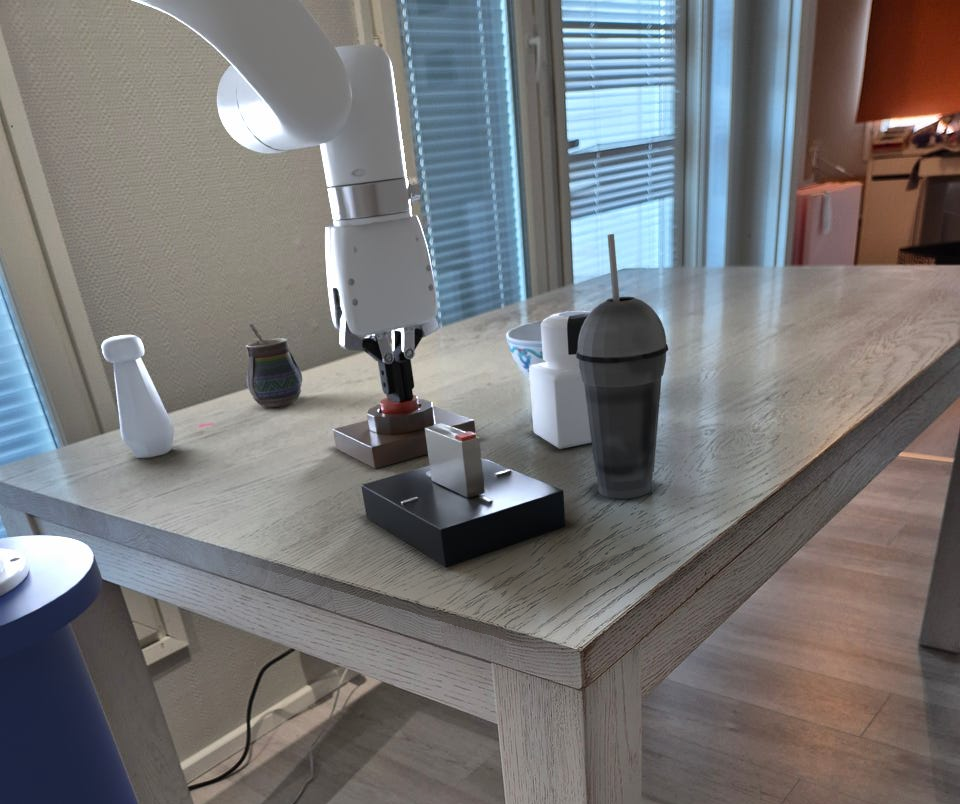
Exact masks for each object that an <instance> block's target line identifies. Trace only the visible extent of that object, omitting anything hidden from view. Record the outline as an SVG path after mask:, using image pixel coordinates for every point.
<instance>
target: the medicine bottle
mask: <svg viewBox="0 0 960 804" xmlns="http://www.w3.org/2000/svg"><path fill="white" fill-rule="evenodd" d="M591 311H592V310H570V311H562V312H557V313H553V314H551V315H548V316H547V317H546V318H544V319H543V322H542V323H541V337H542V352H543V360H544V361H546V362H545V363H539V364H534V365H531V366H530V367H529V376H530V380H529V388H530V390H529V391H530V402H531V415H532V429H533V433H534V434H535V435H536V436H538V437H540V438H541V439H543V440H544V441H546V442H548V443H549V444H550V445H553V446H554V447H556V448H557V449H559V450H563V449H568V448H572V447H577V446H582V445H587V444H592V441H591V433H590V425H589V417H588V409H587V401H586V393H585V385H584V383H583V381H582V376H581V372H580V368H579V359H577V358H576V352H577V350H578V339H579V334H580V331H581V327H582V325H583V323H584V321H585V319H586V318H587V316H588V315H589V314H590V312H591Z"/></svg>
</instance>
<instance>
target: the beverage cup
mask: <svg viewBox="0 0 960 804" xmlns="http://www.w3.org/2000/svg"><path fill="white" fill-rule="evenodd" d="M615 242H616V241H615V233H611V234H610V233H609V234H607V246H608V247H607V248H608V258H609V259H608V260H609V270H610V280H611V281H610V282H611V294H612V296H611V298H608V299H605V300H604V301H601V302H600V303H599V304H597V305H596V306H595V307H594V308H593V309H592V310H590V311H591V312H590V314H589V315H588V316H587V318H586V319H585V321H584V323H583V325H582V327H581V331H580V334H579V339H578V350H577V352H576V358H577V359H579V368H580V372H581V376H582V381H583V383H584V385H585V393H586V401H587V409H588V417H589V425H590V433H591V441H592V443H591V448H592V456H593V457H592V458H593V463H594V472H595V477H596V480H597V481H596V482H597V487H598V494H600V496H603V497H605V498H609V499H614V500H615V499H616V500H617V499H619V500H625V499H634V498H639V497H640V498H641V497H642V496H644V495H648V494H649V493H650V492H651V490H652V481H653V478H654V477H653V476H654V471H655V463H656V450H657V449H656V448H657V437H658V425H659V414H660V413H659V412H660V401H661V388H662V379H663V376H664V374H665V373H664V372H665V367H666V364H667V352H668V351H669V346H668V343H667V335H666V331H665V327H664V325H663V322H662V320H661V319H660V316H659V315H658V313H657V312H656V311H655V309H654V308H653V307H652V306H650V304H649V303H647V302H645V301H644V300H642V299H641V298H638V297H634V296H620V289H619V277H618V266H617V253H616V252H617V251H616V243H615Z"/></svg>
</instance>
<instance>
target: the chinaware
mask: <svg viewBox="0 0 960 804" xmlns="http://www.w3.org/2000/svg"><path fill="white" fill-rule="evenodd" d="M543 320H544V319H543ZM543 320H537V321H532V322H528V323H524V324H521V325H518V326H516V327H513V328H511V329H509V330H508V331H507V332H506V334H505V337H506V338H505V339H506V341H507V345H508V349H509V351H510V354H511V356H512V358H513V360H514V363H515V365H516V366H517V368H518V370H519V371H520V372H521V374H523V375H524V376H525V378H526V379H528V380H529V381H530V376H529V367H530V366H531V365H534V364H539V363H545V362H546V361H544V360H543V352H542V337H541V323H542V322H543Z"/></svg>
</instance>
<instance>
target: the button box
mask: <svg viewBox="0 0 960 804" xmlns="http://www.w3.org/2000/svg"><path fill="white" fill-rule="evenodd" d="M418 403H419V408H418V409H416V410H414V411H410V412H406V413H398V414H382V413H381V406H380V403H379V404H376V405H375V406H372V407H371V408H370V407H369V409H367V412H366V418H367V420H363V421H359V422H355V423H351V424H348V425H344V426H340V427H335V428H332V433H333V434H332V435H333V438H334V439H333V440H334V444H335V448H336V449H337V450H338V451H340V452H342V453H343V454H346V455H348V456H350V457H352V458H354V459H355V460H358V461H359V462H361V463H363V464H365V465H367V466H369V467H371V468H373V469H379V468H383V467H386V466H390V465H394V464H397V463H401V462H405V461H407V460H411V459H415V458H418V457H422V456H427V455H428V449H427V442H426V434H425V427H429V426H433V425H437V424H441V423H442V424H444V425H447V426H450V427H452V428H455V429H458V430H461V431H463V432H472V433H475V434H476V435H477V431H476V422H475V420H474V419H472V418H469V417H466V416H463V415H461V414H457V413H454V412H451V411H448V410H445V409H443V408H439V407H437V406H434V403H433V401H430V400H427V399H423V398H418Z"/></svg>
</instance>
